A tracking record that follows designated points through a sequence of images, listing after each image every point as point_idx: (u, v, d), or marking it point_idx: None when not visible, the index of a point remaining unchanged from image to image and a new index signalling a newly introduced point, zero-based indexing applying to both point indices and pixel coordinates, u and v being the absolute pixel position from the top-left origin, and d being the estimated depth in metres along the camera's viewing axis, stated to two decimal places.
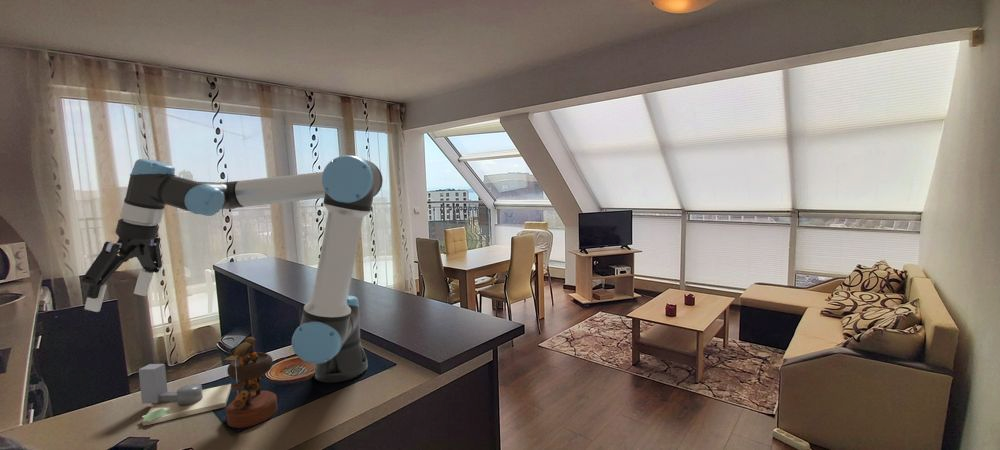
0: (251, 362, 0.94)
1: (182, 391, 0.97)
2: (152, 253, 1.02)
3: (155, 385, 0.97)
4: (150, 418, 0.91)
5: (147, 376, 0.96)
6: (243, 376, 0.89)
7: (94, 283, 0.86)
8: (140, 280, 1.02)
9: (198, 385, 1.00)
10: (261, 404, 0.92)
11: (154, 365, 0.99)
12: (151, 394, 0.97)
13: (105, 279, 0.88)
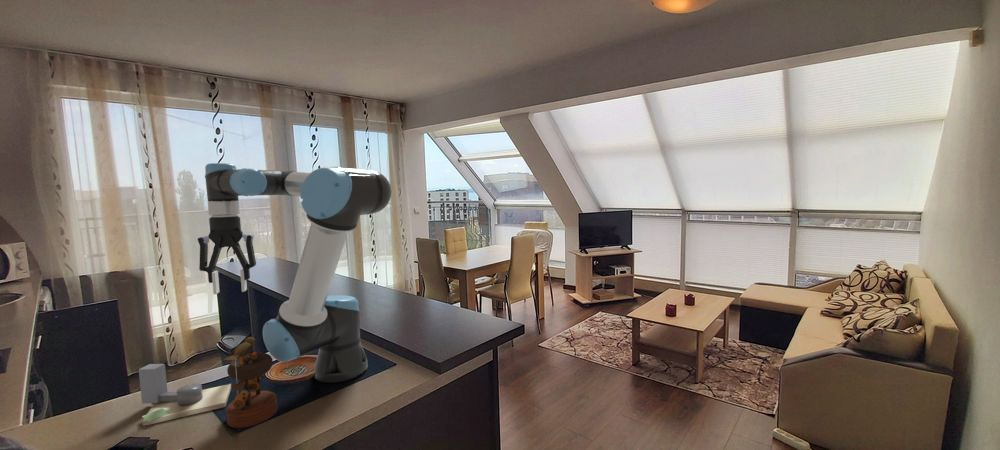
0: (251, 362, 0.94)
1: (182, 391, 0.97)
2: None
3: (155, 385, 0.97)
4: (150, 418, 0.91)
5: (147, 376, 0.96)
6: (243, 376, 0.89)
7: (201, 269, 1.11)
8: None
9: (198, 385, 1.00)
10: (261, 404, 0.92)
11: (154, 365, 0.99)
12: (151, 394, 0.97)
13: (210, 267, 1.12)
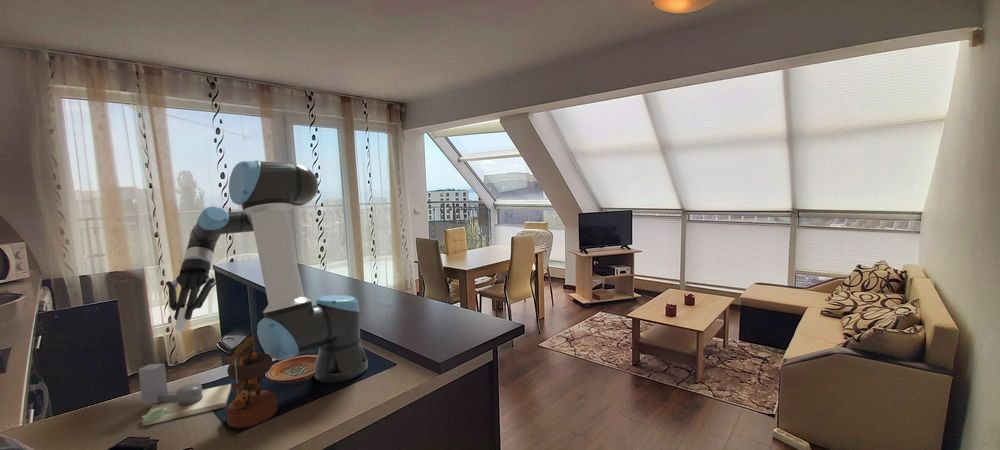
0: (251, 362, 0.94)
1: (182, 391, 0.97)
2: None
3: (155, 385, 0.97)
4: (150, 418, 0.91)
5: (147, 376, 0.96)
6: (243, 376, 0.89)
7: (171, 305, 1.15)
8: None
9: (198, 385, 1.00)
10: (261, 404, 0.92)
11: (154, 365, 0.99)
12: (151, 394, 0.97)
13: (179, 303, 1.16)
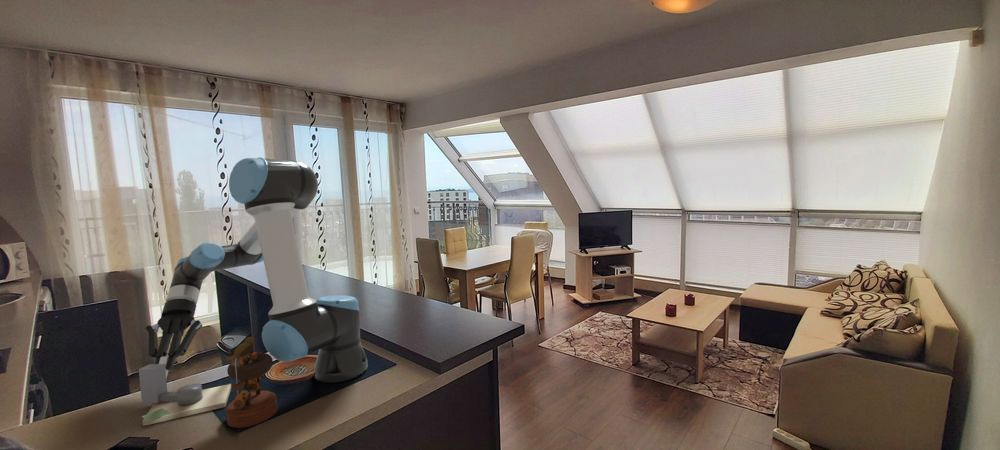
0: (251, 362, 0.94)
1: (182, 391, 0.97)
2: None
3: (155, 385, 0.97)
4: (150, 418, 0.91)
5: (147, 376, 0.96)
6: (243, 376, 0.89)
7: (150, 354, 1.04)
8: None
9: (198, 385, 1.00)
10: (261, 404, 0.92)
11: (154, 365, 0.99)
12: (151, 394, 0.97)
13: (160, 351, 1.05)
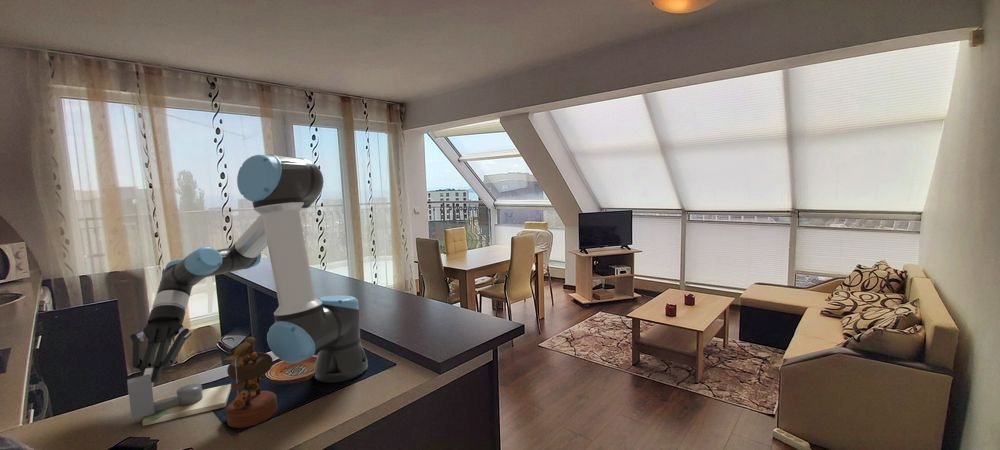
0: (251, 362, 0.94)
1: (187, 391, 0.97)
2: None
3: (152, 394, 0.92)
4: (150, 418, 0.91)
5: (140, 388, 0.90)
6: (243, 376, 0.89)
7: (134, 366, 0.97)
8: None
9: (194, 384, 1.00)
10: (261, 404, 0.92)
11: (138, 377, 0.92)
12: (145, 406, 0.91)
13: (145, 362, 0.98)
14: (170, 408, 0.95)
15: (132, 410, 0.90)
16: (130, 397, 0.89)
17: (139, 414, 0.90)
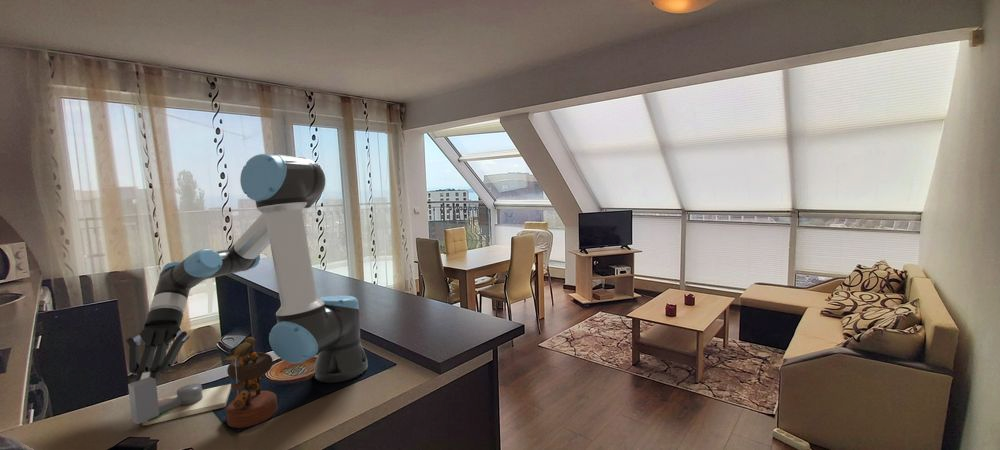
0: (251, 362, 0.94)
1: (189, 390, 0.97)
2: None
3: (156, 396, 0.91)
4: None
5: (146, 390, 0.89)
6: (243, 376, 0.89)
7: (131, 370, 0.94)
8: None
9: (192, 384, 1.00)
10: (261, 404, 0.92)
11: (140, 380, 0.90)
12: (151, 408, 0.90)
13: (141, 366, 0.95)
14: None
15: (138, 413, 0.88)
16: (136, 400, 0.88)
17: (145, 417, 0.89)
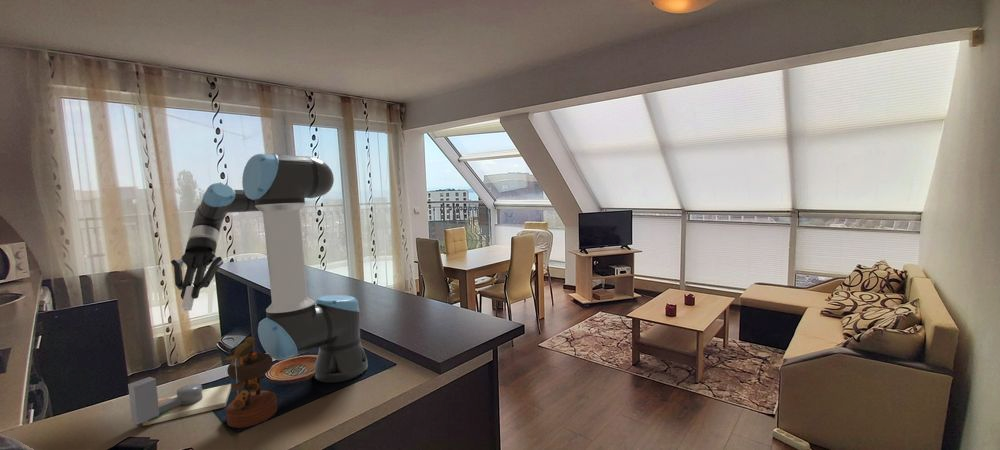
0: (251, 362, 0.94)
1: (189, 390, 0.97)
2: None
3: (156, 396, 0.91)
4: None
5: (146, 390, 0.89)
6: (243, 376, 0.89)
7: (177, 284, 1.10)
8: None
9: (192, 384, 1.00)
10: (261, 404, 0.92)
11: (140, 381, 0.90)
12: (151, 408, 0.90)
13: (185, 281, 1.11)
14: None
15: (138, 413, 0.88)
16: (136, 400, 0.88)
17: (145, 417, 0.89)
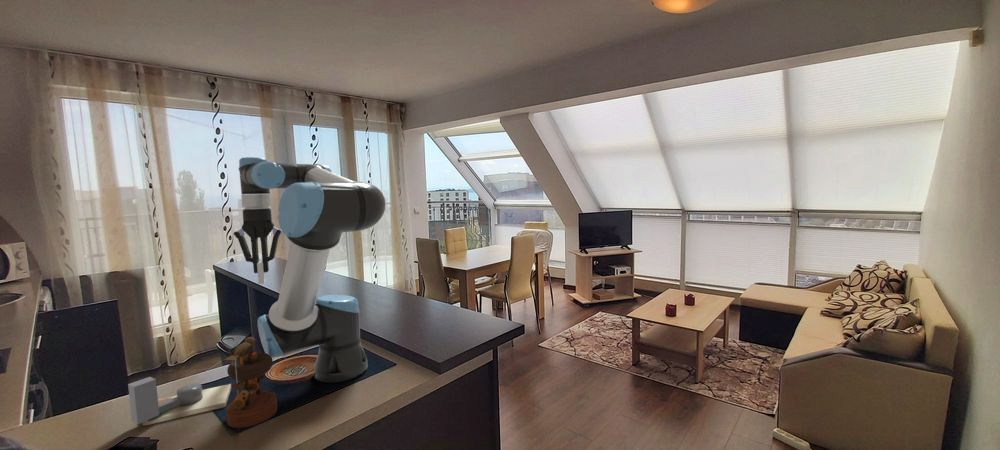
0: (251, 362, 0.94)
1: (189, 390, 0.97)
2: None
3: (156, 396, 0.91)
4: None
5: (146, 390, 0.89)
6: (243, 376, 0.89)
7: (247, 260, 1.17)
8: None
9: (192, 384, 1.00)
10: (261, 404, 0.92)
11: (140, 381, 0.90)
12: (151, 408, 0.90)
13: (254, 258, 1.18)
14: None
15: (138, 413, 0.88)
16: (136, 400, 0.88)
17: (145, 417, 0.89)
